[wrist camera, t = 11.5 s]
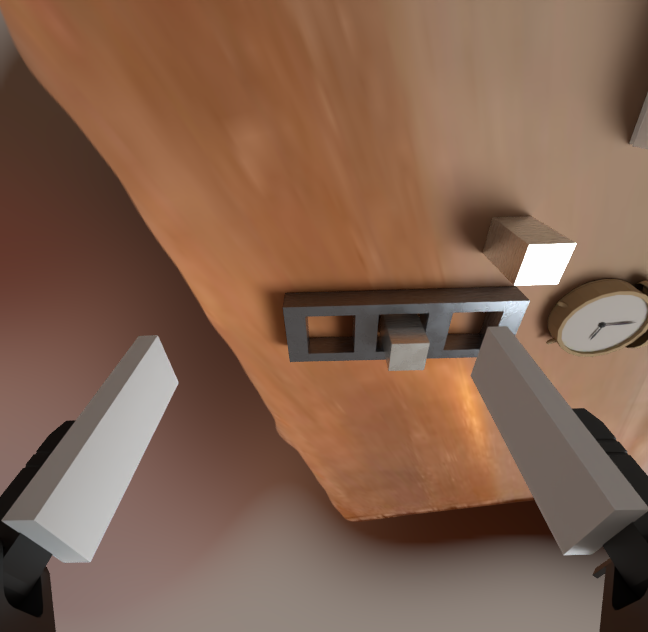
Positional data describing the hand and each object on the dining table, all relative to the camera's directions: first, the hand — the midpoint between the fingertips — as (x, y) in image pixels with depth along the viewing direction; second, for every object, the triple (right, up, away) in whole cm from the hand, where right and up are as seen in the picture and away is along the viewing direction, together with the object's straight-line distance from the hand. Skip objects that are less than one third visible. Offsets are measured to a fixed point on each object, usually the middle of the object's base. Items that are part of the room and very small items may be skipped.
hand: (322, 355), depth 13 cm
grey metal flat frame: (+11, +1, +32) cm, 34 cm away
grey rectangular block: (+11, +1, +32) cm, 34 cm away
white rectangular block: (+22, +11, +25) cm, 35 cm away
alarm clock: (+40, +3, +32) cm, 51 cm away
